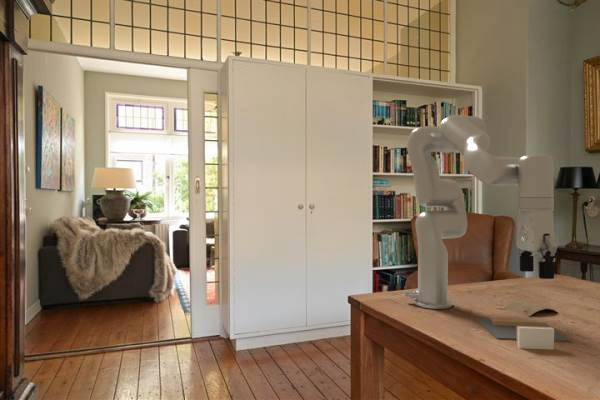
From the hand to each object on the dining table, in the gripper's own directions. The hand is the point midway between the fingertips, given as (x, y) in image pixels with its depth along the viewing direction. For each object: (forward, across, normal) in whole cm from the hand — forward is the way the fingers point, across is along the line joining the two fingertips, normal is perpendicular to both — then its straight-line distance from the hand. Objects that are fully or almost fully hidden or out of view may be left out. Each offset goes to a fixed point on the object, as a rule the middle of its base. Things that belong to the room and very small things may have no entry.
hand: (536, 274), depth 100 cm
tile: (+18, +1, -1) cm, 18 cm away
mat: (+17, -12, +2) cm, 21 cm away
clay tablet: (+18, -32, +14) cm, 39 cm away
